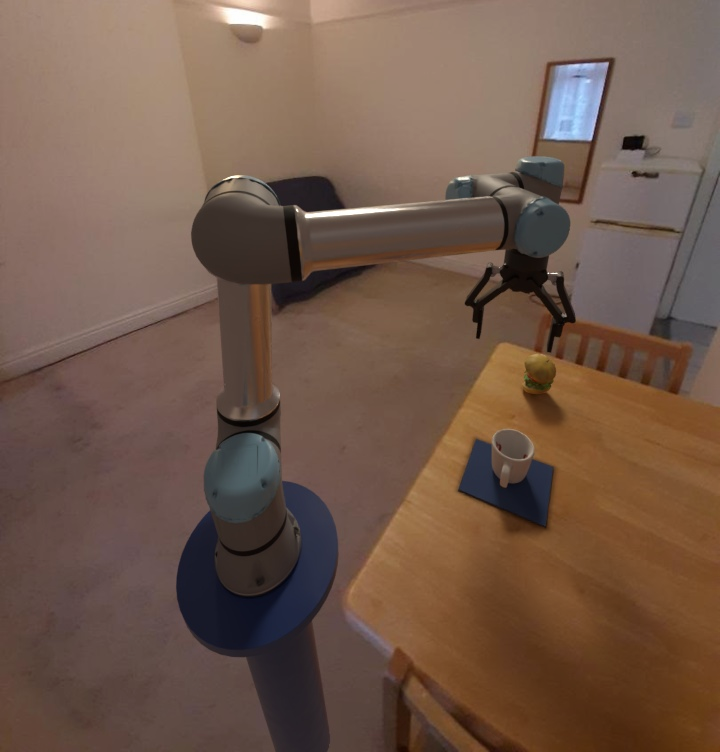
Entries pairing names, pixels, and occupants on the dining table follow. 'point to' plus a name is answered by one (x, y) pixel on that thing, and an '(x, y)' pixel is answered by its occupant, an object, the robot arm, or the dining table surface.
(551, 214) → the robot arm
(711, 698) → the dining table surface
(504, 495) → the napkin
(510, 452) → the cup
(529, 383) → the hamburger
